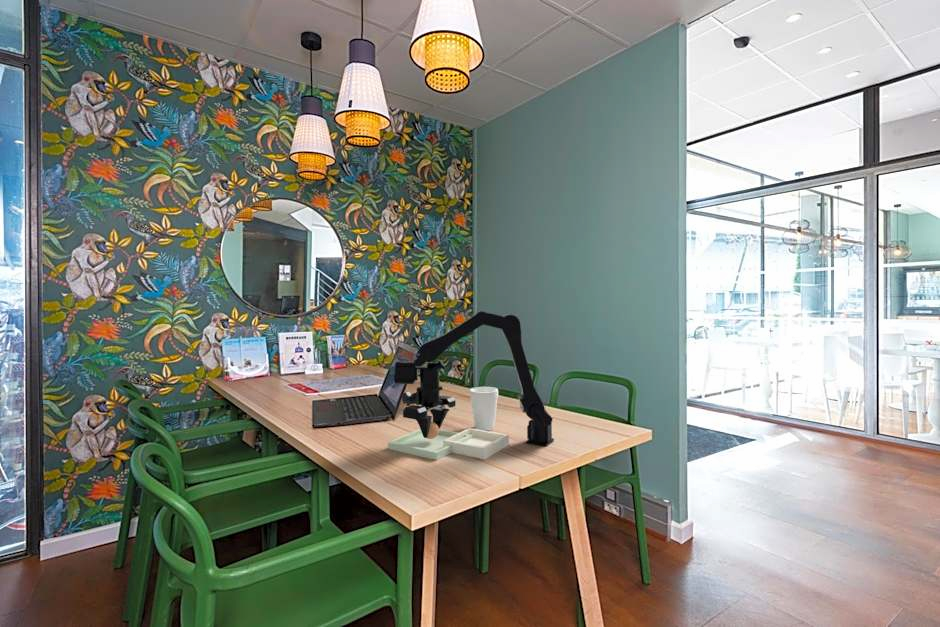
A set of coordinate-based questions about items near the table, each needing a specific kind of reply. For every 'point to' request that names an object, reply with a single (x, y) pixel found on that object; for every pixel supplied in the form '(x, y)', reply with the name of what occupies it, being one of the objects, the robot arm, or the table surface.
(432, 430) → the ball
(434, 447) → the tray
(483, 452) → the white square open box
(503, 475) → the table surface
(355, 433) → the table surface
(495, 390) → the foam cup
